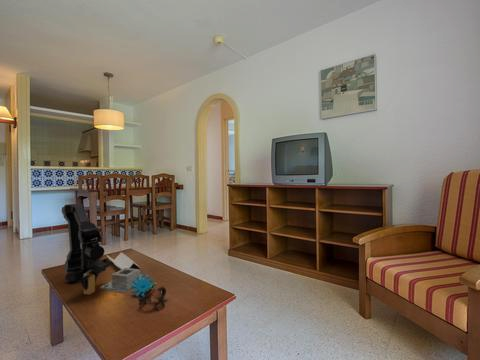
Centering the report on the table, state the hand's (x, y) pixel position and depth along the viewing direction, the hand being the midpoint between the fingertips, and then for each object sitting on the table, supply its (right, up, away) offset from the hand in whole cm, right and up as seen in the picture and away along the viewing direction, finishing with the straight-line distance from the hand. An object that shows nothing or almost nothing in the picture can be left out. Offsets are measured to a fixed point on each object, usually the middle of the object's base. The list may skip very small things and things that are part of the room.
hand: (89, 288), depth 112 cm
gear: (+26, -2, -1) cm, 26 cm away
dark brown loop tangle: (+34, -3, -11) cm, 36 cm away
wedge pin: (0, -2, 0) cm, 2 cm away
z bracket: (-1, -2, +35) cm, 35 cm away
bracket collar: (+12, -2, +10) cm, 16 cm away
